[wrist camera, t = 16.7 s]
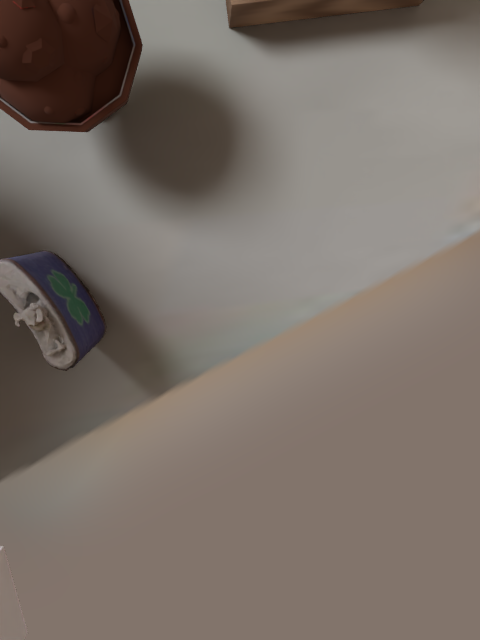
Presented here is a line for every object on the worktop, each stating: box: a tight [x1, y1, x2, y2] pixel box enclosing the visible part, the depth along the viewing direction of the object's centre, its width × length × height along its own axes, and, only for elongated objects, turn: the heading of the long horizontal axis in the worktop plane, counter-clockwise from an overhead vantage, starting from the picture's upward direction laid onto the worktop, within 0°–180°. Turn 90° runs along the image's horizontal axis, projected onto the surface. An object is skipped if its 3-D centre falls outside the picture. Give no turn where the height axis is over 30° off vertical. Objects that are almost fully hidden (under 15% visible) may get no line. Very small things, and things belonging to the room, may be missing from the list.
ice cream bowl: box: [0, 0, 142, 132], centre depth 30 cm, size 11×11×15 cm
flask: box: [0, 251, 106, 371], centre depth 36 cm, size 9×3×11 cm, turn 31°
